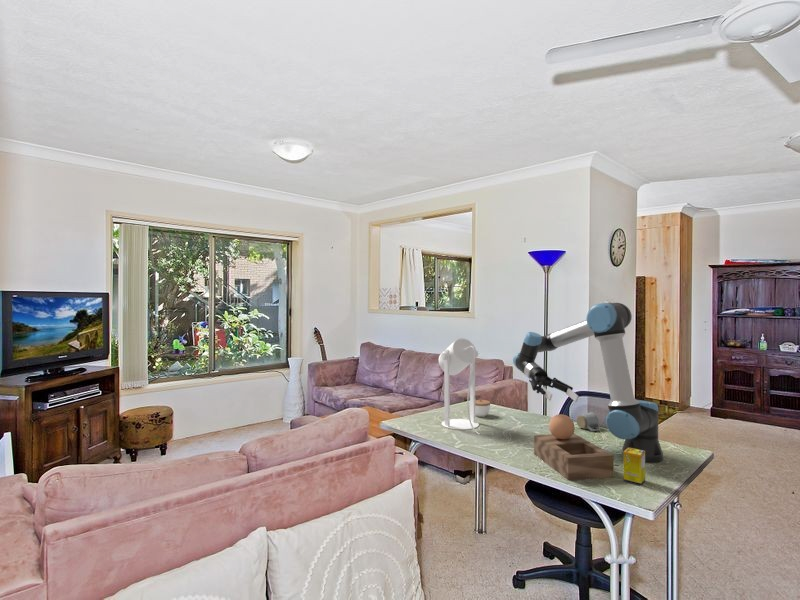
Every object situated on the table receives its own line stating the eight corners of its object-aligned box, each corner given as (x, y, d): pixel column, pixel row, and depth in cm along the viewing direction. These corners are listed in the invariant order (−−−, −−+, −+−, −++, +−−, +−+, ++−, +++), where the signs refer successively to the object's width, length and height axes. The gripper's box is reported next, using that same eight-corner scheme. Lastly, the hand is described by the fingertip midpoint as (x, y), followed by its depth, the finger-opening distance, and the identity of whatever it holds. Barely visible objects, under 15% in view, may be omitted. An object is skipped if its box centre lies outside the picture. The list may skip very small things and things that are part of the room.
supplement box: (627, 476, 172) (627, 447, 172) (645, 480, 168) (645, 450, 168) (622, 481, 168) (622, 451, 168) (641, 485, 164) (641, 454, 164)
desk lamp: (462, 416, 258) (462, 335, 258) (499, 431, 230) (499, 340, 230) (430, 421, 249) (429, 337, 248) (465, 437, 220) (464, 342, 220)
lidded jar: (469, 413, 265) (469, 396, 265) (487, 412, 266) (487, 396, 266) (473, 418, 255) (473, 401, 255) (492, 417, 255) (492, 400, 255)
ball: (574, 436, 194) (574, 412, 194) (574, 443, 185) (574, 418, 185) (549, 434, 198) (549, 410, 198) (548, 441, 189) (548, 416, 189)
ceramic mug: (575, 427, 236) (575, 412, 236) (587, 425, 239) (587, 410, 239) (591, 433, 226) (591, 417, 226) (603, 431, 230) (604, 415, 230)
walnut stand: (534, 454, 197) (534, 435, 197) (573, 451, 199) (573, 433, 199) (568, 480, 169) (568, 458, 169) (613, 476, 172) (613, 455, 172)
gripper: (555, 382, 219) (584, 407, 200) (510, 379, 210) (536, 404, 191) (560, 368, 217) (590, 391, 198) (515, 364, 208) (542, 388, 189)
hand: (564, 398), depth 195 cm, fingers open, 13 cm apart
